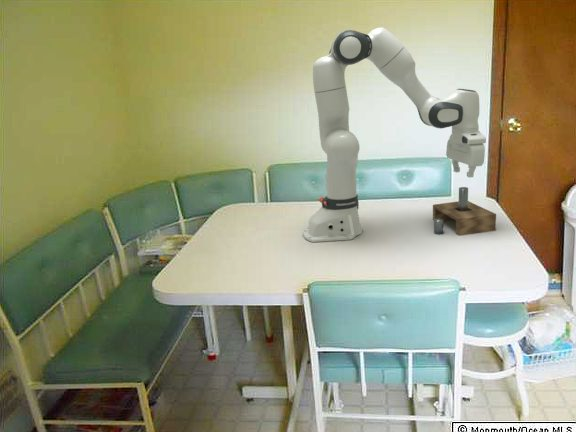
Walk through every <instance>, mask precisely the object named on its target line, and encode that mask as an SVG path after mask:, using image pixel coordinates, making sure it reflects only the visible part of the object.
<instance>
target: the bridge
mask: <svg viewBox="0 0 576 432" xmlns="http://www.w3.org/2000/svg"><path fill="white" fill-rule="evenodd" d="M458 206H459V200H458V201H453V202H452V201H451V202H444V203H435V204H432V220H433V221H434V219H437V218H440V219H443V221H444V220H445V221H446V220H451V219H453V220H454V221H455V234H456V235H457V236H463V235H471V234H476V233H478V234H479V233H486V232H491V231H496V226H497V225H496V223H497V213H494V212H492V211H490V210H489V209H486V208H485V207H482V206H480V205H479V204H476V203H474V202H471V201H469V200H468V211H462V212H460V211H458Z"/></svg>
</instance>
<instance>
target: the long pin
mask: <svg viewBox="0 0 576 432" xmlns="http://www.w3.org/2000/svg"><path fill="white" fill-rule="evenodd" d="M458 201H459V206H458V211H460V212H462V211H468V201H469V187H466V186H461V187H458Z"/></svg>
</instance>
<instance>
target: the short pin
mask: <svg viewBox="0 0 576 432" xmlns="http://www.w3.org/2000/svg"><path fill="white" fill-rule="evenodd" d="M433 233H434V234H435V235H443V234H444V220H443V219H440V218H437V219H434V220H433Z"/></svg>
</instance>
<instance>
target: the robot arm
mask: <svg viewBox="0 0 576 432" xmlns="http://www.w3.org/2000/svg"><path fill="white" fill-rule="evenodd" d="M364 59H367V60H368V61H370V62H372V64H373V65H374V66H375V68H377V69H378V70H379V72H380V73H381V74H383V76H384V77H385V78H386V79H388V80H389V81H391V83H392V84H394V85H396V86H397V87H399V88H400V89H401V90H402V91H403V92H404V93H405V95H406V96H407V97H408V98H409V100H410V101H411V102H412V103H413V104H414V105H415V107H416V110H417V113H418V116H419V119H420V121H421V122H422V123H423V124H424V125H426V126H429V127H433V128H435V129H446V128H450V127H451V134H450V135H449V138H448V140H447V143H446V153H445V155H446V156H445V157H446V158H447V159H450V160H451V163H452V164H451V165H452V167H453V170H452V171H453V172H455V173H460V172H461V167H460V166H459V165H460V164H459V163H462V164H465V165H467V166H468V167H467V168H468V171H467V172H466V177H467V178H474V173H475V171H476V169H477V167H482V166H483V165H484V163H485V154H486V151H485V150H486V147H485V143H486V142H487V138H486V136H485V135H484V134H482V133H481V131H480V130H479V122H478V121H479V117H480V96H479V95H480V94H479V93H478V92H477V91H476V90H473V89H467V88H457V89H455V90H454V91H453V92H451V93H450V94H448V95H446V96H445V97H442V98H438V97H435V96H433V95H432V94H431V93H430V92H429V91H428V89H427V87H425V86H424V85H423V83H422V82H421V81H420V80H419V78H418V77H417V74H416V62H415V59H414V57H413V56H412V54H411V53H410V52H409V49H408V48H406V45H404V44H403V43H402V41H401V40H400V39H398V38H397V36H395V35H394V34H393V33H392V32H390V31H389V30H388V29H386V28H385V27H382V26H381V27H376V28H373V29H372V30H371V31H370V32H369V33H367V34H366V33H363V32H361V31H357V30H352V29H345V30H343V31H340V32H339V33H338V34H337V35H336V36H335V37H334V39H333V41H332V44H331V46H330V49H329V53H328V54H327V55H324V56H321V57H319V58H317V59H316V60H315V61H314V63H313V66H312V84H313V91H314V96H315V97H314V98H315V103H316V108H317V115H318V129H319V139H320V146H321V148H322V151H323V152H324V153H325V154H326V157H327V159H326V160H327V164H326V173H325V186H326V187H325V188H326V191H325V192H326V196H325V197H323V196H319V198H318V202H320V204H321V207H320V208H319V209H318V210H317V211H315V213H313V214H312V215H311V216H310V217H309V219H308V227H307V228H304V229H303V230H302V237H303V238H304V239H305V240H306V241H309V242H312V243H319V242H321V243H322V242H335V241H349V240H354V239H355V237H357V236H359V235H361V234H362V233H363V228H362V225H361V222H360V217H359V195H358V194H357V167H358V159H359V157H358V156H359V154H360V152H359V151H360V143H359V139H358V138H357V137H356V135H355V134H354V133H353V132H352V131H350V125H349V123H350V122H349V118H350V117H349V115H350V113H349V112H350V104H349V98H348V90H347V85H346V79H345V77H346V76H345V73H346V72H345V71H346V68H347V67H348V66H352V65H355V64H358V63H360V62H361V61H363V60H364Z"/></svg>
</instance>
